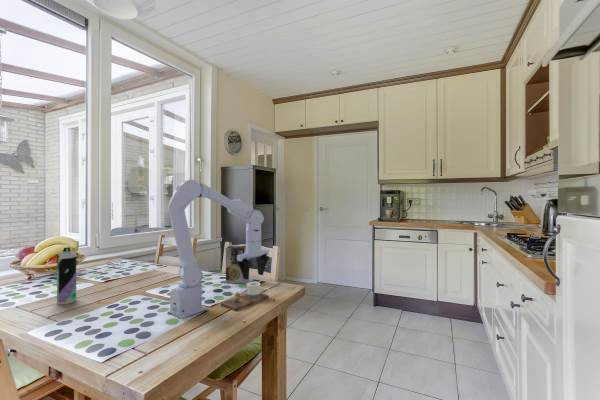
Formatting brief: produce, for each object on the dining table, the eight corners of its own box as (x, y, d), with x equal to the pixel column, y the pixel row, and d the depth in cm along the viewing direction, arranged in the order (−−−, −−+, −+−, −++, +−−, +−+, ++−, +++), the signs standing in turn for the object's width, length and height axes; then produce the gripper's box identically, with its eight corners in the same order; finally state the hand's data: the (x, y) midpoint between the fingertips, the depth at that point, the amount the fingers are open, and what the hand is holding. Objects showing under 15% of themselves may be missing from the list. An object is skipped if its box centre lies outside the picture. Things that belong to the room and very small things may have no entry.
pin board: (235, 311, 94) (235, 298, 94) (220, 305, 98) (220, 293, 98) (268, 297, 106) (268, 286, 106) (254, 293, 111) (254, 282, 111)
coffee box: (248, 279, 131) (248, 245, 131) (244, 283, 124) (244, 247, 124) (230, 279, 132) (230, 245, 132) (225, 283, 125) (225, 247, 125)
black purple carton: (65, 305, 99) (65, 249, 99) (52, 303, 100) (52, 248, 100) (80, 299, 104) (80, 246, 104) (68, 298, 105) (68, 246, 105)
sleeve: (253, 299, 102) (253, 286, 102) (244, 296, 105) (244, 284, 105) (263, 295, 106) (263, 283, 106) (253, 292, 109) (253, 281, 109)
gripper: (259, 238, 114) (259, 271, 114) (231, 242, 102) (231, 279, 102) (272, 239, 109) (272, 274, 109) (244, 244, 98) (244, 282, 98)
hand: (253, 276), depth 106 cm, fingers open, 7 cm apart
